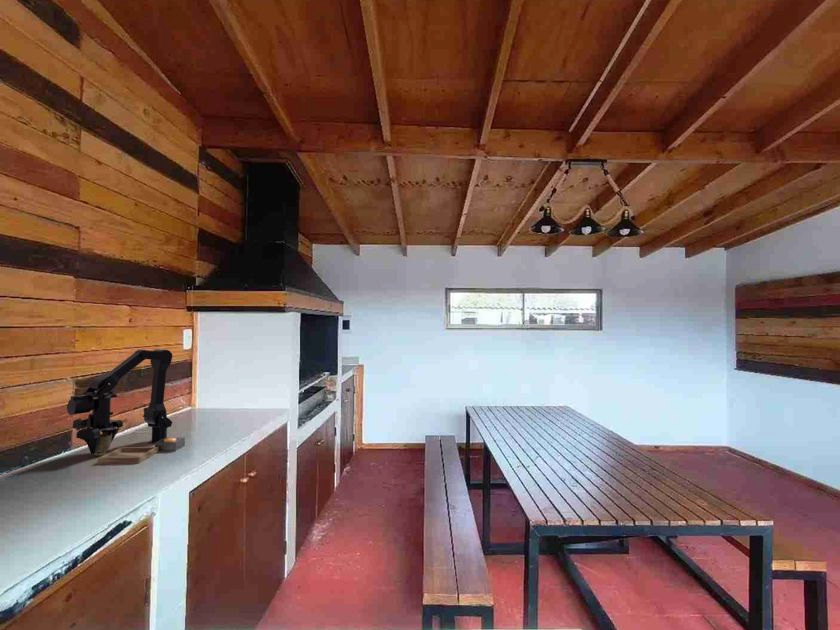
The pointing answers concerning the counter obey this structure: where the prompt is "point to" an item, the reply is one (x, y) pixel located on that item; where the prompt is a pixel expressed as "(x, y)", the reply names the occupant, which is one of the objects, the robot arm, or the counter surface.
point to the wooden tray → (128, 455)
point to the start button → (170, 440)
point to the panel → (170, 444)
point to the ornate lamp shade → (103, 444)
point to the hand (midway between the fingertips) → (100, 451)
